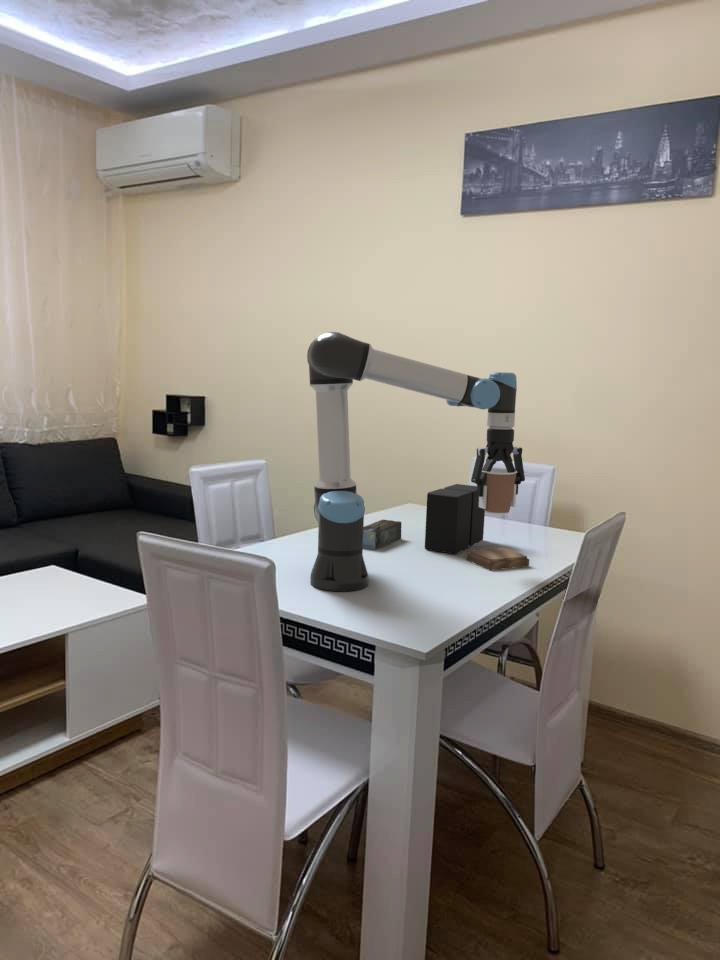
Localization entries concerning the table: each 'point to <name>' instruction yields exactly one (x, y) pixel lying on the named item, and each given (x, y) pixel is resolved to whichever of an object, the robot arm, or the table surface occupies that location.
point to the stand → (497, 558)
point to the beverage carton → (381, 533)
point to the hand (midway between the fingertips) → (496, 506)
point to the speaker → (453, 519)
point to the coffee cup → (499, 490)
